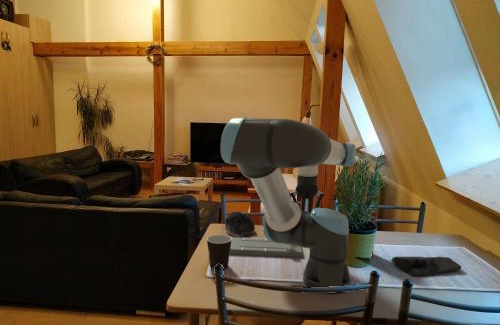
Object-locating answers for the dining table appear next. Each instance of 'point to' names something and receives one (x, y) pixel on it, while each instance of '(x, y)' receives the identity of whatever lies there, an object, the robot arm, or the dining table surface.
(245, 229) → the dark grey rounded lump
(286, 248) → the fader left
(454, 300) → the dining table surface
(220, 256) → the coffee mug
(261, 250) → the console
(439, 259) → the dark slate chunk
